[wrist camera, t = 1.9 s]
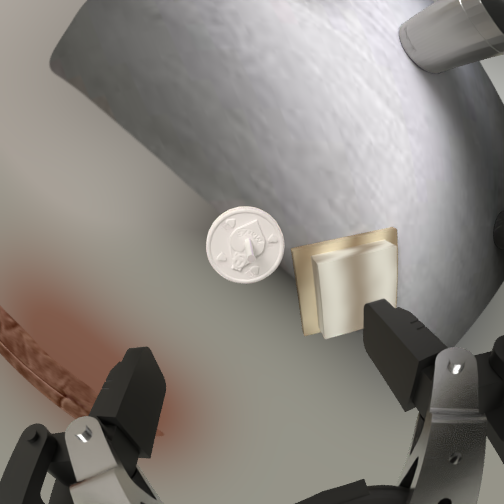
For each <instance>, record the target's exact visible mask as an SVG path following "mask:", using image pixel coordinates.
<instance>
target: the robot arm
mask: <svg viewBox="0 0 504 504" xmlns="http://www.w3.org/2000/svg"><path fill="white" fill-rule="evenodd" d="M399 37H400V41H401V44H402V46H403V48H404V50H405V51H406V53H407V54H408V55H409V57H410V58H411V59H412V60H413V61H414V62H415V63H416V64H417V65H418V66H419V67H420V68H422V69H424V70H425V71H427V72H430V73H434V74H436V73H441V72H444V71H447V70H450V69H453V68H456V67H460V66H463V65H466V64H469V63H473V62H476V61H480V60H484V59H487V58H491V57H495V56H499V55H503V54H504V0H437V1H436V2H434V3H433V4H431V5H430V6H428V7H426V8H425V9H423V10H422V11H420V12H419V13H417V14H416V15H414V16H413V17H411V18H410V19H409V20H407V21H406V22H404V23H403V24H402V25H401V26H400V29H399ZM363 341H364V346H365V349H366V352H367V353H368V355H369V356H370V358H371V359H372V361H373V363H374V364H375V366H376V367H377V369H378V370H379V372H380V373H381V375H382V376H383V378H384V379H385V381H386V382H387V384H388V385H389V387H390V389H391V390H392V392H393V393H394V395H395V397H396V398H397V400H398V401H399V403H400V404H401V406H402V408H403V409H404V411H405V412H406V411H409V410H411V409H413V408H415V407H416V408H417V409H418V411H419V414H418V417H417V421H416V426H415V430H414V434H413V438H412V442H411V445H410V449H409V452H408V456H407V459H406V462H405V465H404V467H403V469H402V471H401V474H400V476H399V479H398V481H397V484H396V486H392V485H376V486H367V485H366V483H365V480H364V479H362V480H359V481H356V482H353V483H350V484H347V485H343V486H340V487H337V488H333V489H330V490H326V491H322V492H320V493H318V494H316V495H314V496H312V497H310V498H307V499H305V500H303V501H300V502H298V503H295V504H477V501H478V496H479V491H480V486H481V480H482V474H483V467H484V459H485V449H486V436H487V437H488V439H489V440H490V442H491V444H492V445H493V447H494V448H495V450H496V452H497V453H498V455H499V457H500V458H501V460H502V462H503V464H504V335H503V336H501V337H499V338H497V340H496V342H495V343H494V346H493V349H492V351H490V352H487V353H483V354H479V355H473V354H472V353H471V352H470V351H468V350H466V349H463V348H459V347H452V348H448V347H447V346H446V345H445V344H443V343H442V342H441V341H440V340H439V339H438V338H437V337H436V336H435V335H434V334H433V333H432V332H431V331H430V330H429V329H428V328H427V327H425V325H424V324H423V323H422V322H420V321H418V319H417V318H416V317H415V316H414V315H413V314H412V313H411V312H409V311H407V310H404V309H402V308H400V307H398V308H394V307H393V306H392V305H391V304H390V303H389V302H388V301H387V300H386V299H380V300H376V301H373V302H370V303H366V304H365V305H364V321H363ZM165 393H166V383H165V379H164V376H163V374H162V372H161V370H160V368H159V366H158V364H157V362H156V360H155V358H154V356H153V354H152V352H151V350H150V349H149V348H148V347H138V348H129V349H128V350H127V352H126V354H125V356H124V358H123V360H122V362H119V363H118V364H117V365H116V366H115V367H114V368H113V369H112V370H111V371H110V373H109V375H108V377H107V379H106V382H105V383H104V385H103V387H102V390H101V391H100V393H99V395H98V397H97V399H96V401H95V403H94V405H93V407H92V409H91V412H90V414H89V416H85V417H80V418H78V419H76V420H74V421H73V422H72V423H71V424H70V425H69V426H68V428H67V430H66V432H62V433H55V434H51V433H50V432H49V431H48V430H47V428H46V427H45V426H44V425H42V424H33V425H31V426H29V427H27V428H26V429H25V430H24V431H23V433H22V435H21V437H20V439H19V441H18V443H17V445H16V447H15V449H14V451H13V453H12V456H11V458H10V460H9V462H8V464H7V467H6V469H5V471H4V474H3V477H2V479H1V481H0V504H45V503H44V502H43V501H42V499H41V496H40V492H41V488H42V485H43V482H44V479H45V476H46V473H47V472H48V473H50V474H51V475H52V476H53V477H54V478H56V480H55V483H54V487H53V490H52V493H51V497H50V500H49V504H164V503H163V502H162V501H161V499H160V498H159V496H158V495H157V493H156V492H155V490H154V489H153V488H152V486H151V484H150V483H149V481H148V480H147V478H146V477H145V475H144V473H143V472H142V470H141V469H140V467H139V466H138V465H137V460H138V458H151V453H152V448H153V444H154V439H155V435H156V430H157V426H158V422H159V417H160V413H161V409H162V405H163V401H164V397H165Z"/></svg>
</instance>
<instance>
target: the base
mask: <svg viewBox="0 0 504 504" xmlns="http://www.w3.org/2000/svg"><path fill="white" fill-rule="evenodd" d="M291 253H292V259H293V266H294V272H295V279H296V286H297V293H298V299H299V307H300V315H301V322H302V330H303V333H304V336H308V335H312V334H316V333H320V332H321V333H322V335H323V337H324V339H328V338H331V337H336V336H339V335H343V334H346V333H350V332H353V331H357V330H360V329H363V321H364V305H365V304H366V303H370V302H373V301H376V300H380V299H386V300H387V301H388V302H389V303H390V304H391V305H392V306H393V307H394V308H396V304H397V278H398V246H397V229H396V228H393V227H390V228H386V229H381V230H376V231H371V232H367V233H362V234H357V235H352V236H348V237H343V238H338V239H334V240H329V241H324V242H319V243H314V244H310V245H305V246H300V247H295V248H291Z"/></svg>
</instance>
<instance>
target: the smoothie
mask: <svg viewBox="0 0 504 504" xmlns="http://www.w3.org/2000/svg"><path fill="white" fill-rule="evenodd" d="M206 242H207V243H206V250H207V255H208V259H209V261H210V263H211V265H212V267H213V268H214V269H215V270H216V272H217V273H218V274H220V275H221V276H222V277H224V278H225V279H227V280H229V281H232V282H236V283H242V284H248V283H254V282H258V281H261V280H263V279H265V278H266V277H268V276H269V275H270V274H272V273H273V272H274V270H276V268H277V267H278V265H279V264H280V262H281V260H282V257H283V253H284V238H283V234H282V232H281V229H280V227H279V225H278V224H277V222H276V221H275V220H274V219H273V218H272V217H271V216H270V215H269V214H268V213H266V212H264V211H263V210H261V209H258V208H254V207H237V208H233V209H230V210H228V211H226V212H224V213H223V214H221V215H220V216H219V217H218V218H217V219H216V220H215V221H214V222H213V224H212V226H211V228H210V230H209V232H208V236H207V241H206Z"/></svg>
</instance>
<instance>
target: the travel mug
mask: <svg viewBox="0 0 504 504" xmlns="http://www.w3.org/2000/svg"><path fill="white" fill-rule="evenodd" d="M494 242H495V244H496V246H497V247H499V248H501V249H503V250H504V211H502V212H501V213H500V214H499V215H498V217H497V219H496V222H495V226H494Z"/></svg>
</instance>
